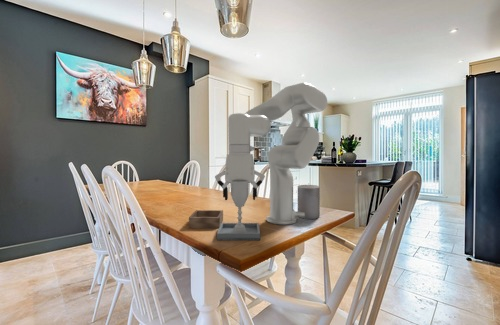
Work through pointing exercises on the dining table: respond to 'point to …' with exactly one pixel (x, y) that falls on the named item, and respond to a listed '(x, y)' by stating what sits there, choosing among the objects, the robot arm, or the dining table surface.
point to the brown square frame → (206, 219)
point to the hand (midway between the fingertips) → (240, 199)
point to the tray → (227, 233)
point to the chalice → (239, 201)
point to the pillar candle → (309, 201)
